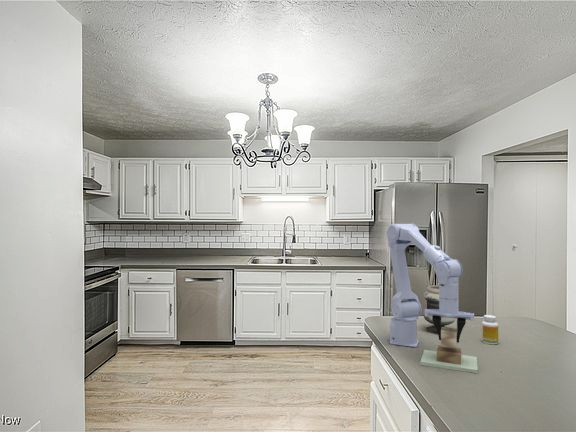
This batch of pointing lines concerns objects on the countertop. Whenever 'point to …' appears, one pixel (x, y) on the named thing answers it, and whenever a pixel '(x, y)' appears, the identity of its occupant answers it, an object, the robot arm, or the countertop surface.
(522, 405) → the countertop surface
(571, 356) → the countertop surface
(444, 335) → the maple brick
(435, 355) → the baseplate
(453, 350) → the base block
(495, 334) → the supplement bottle
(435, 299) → the apothecary jar
